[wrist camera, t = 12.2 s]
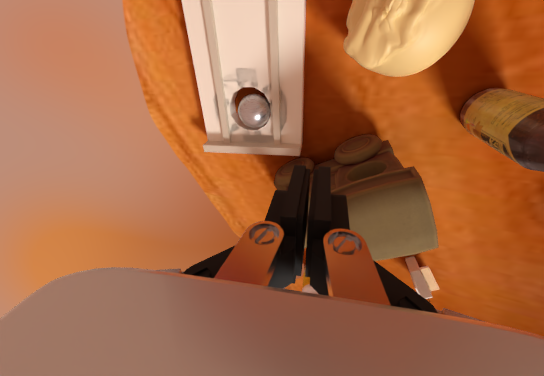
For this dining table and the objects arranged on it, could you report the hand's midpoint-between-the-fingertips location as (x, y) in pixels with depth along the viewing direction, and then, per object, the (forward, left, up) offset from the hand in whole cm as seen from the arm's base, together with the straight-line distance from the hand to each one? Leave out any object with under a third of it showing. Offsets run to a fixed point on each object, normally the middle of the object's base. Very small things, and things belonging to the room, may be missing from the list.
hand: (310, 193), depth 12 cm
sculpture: (-8, +8, -29) cm, 31 cm away
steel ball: (+3, -10, -27) cm, 29 cm away
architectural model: (+35, +21, -30) cm, 50 cm away
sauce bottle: (+3, +22, -29) cm, 37 cm away
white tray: (-3, -11, -29) cm, 31 cm away
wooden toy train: (+14, +3, -29) cm, 33 cm away
